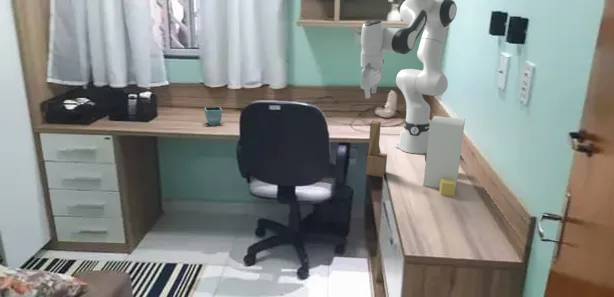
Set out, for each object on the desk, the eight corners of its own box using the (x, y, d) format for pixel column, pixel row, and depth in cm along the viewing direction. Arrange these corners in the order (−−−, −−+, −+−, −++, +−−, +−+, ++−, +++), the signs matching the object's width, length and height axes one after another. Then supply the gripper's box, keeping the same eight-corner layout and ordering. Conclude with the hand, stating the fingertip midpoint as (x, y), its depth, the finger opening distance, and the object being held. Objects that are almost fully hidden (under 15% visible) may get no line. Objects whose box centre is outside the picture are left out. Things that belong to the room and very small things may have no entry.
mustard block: (439, 190, 194) (440, 178, 193) (452, 191, 194) (453, 179, 193) (440, 195, 190) (442, 183, 188) (454, 196, 189) (455, 184, 188)
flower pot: (204, 122, 283) (204, 107, 280) (220, 121, 286) (220, 106, 283) (206, 126, 275) (206, 110, 272) (222, 125, 278) (222, 109, 275)
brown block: (373, 119, 209) (390, 121, 206) (369, 169, 215) (385, 171, 213) (369, 123, 202) (386, 125, 200) (365, 174, 209) (382, 177, 207)
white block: (427, 176, 209) (434, 115, 202) (457, 180, 205) (465, 119, 198) (423, 185, 199) (430, 122, 191) (454, 190, 195) (462, 126, 187)
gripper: (372, 66, 190) (371, 101, 195) (385, 58, 208) (384, 91, 213) (356, 65, 192) (356, 100, 197) (370, 58, 210) (369, 90, 215)
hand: (370, 95), depth 205 cm, fingers open, 8 cm apart
